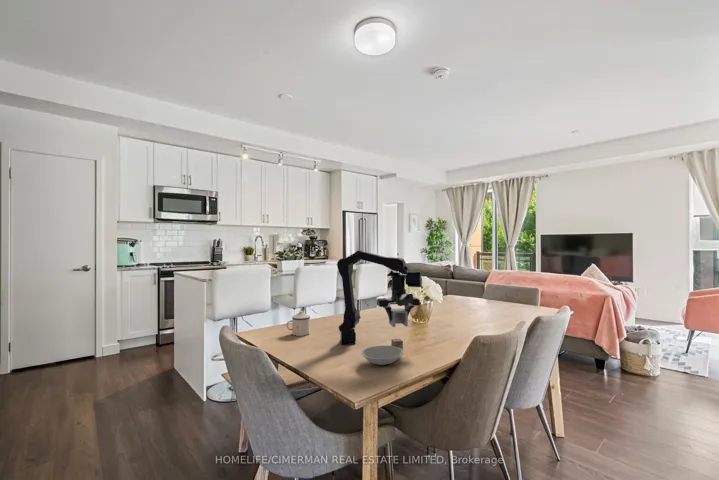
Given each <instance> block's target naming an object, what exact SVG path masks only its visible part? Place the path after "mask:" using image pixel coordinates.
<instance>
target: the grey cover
mask: <svg viewBox="0 0 719 480" xmlns="http://www.w3.org/2000/svg"><path fill="white" fill-rule="evenodd" d="M391 317H392V320H391V322H390V320H389V319H388V324H389V325H390V326H391V327H393V328H395V327H396V324H401V325H403V326H404V327H409V324H408V323H409V319H408V318H409V315H408V311H406V310H405V308H391Z"/></svg>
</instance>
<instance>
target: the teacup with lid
mask: <svg viewBox="0 0 719 480" xmlns="http://www.w3.org/2000/svg"><path fill="white" fill-rule="evenodd" d="M310 322H311V316H310V315H309V314H306V313H305V312H304V311H303V310H299V311H298V313H296V314H293V315H292V317H291V320H289V321H286V326H285V327H286V329H287V330H289V331H292V336H295V335H296V337H305V336H304V335H306V336H308V335H310V334H311V333H310V332H311V331H310V329H311V328H310V325H311V324H310ZM289 323H292V327H291V328H289Z"/></svg>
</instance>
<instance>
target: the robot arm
mask: <svg viewBox="0 0 719 480" xmlns="http://www.w3.org/2000/svg"><path fill="white" fill-rule="evenodd" d="M359 261H366V262H369V263H374V264H377V265H380V266H384V267H386V268H388V269H389V270H390V271H389V273H387V277H391V288H390V290H391V297H390V299H387V298H386V297H385V298H381V297H380V298H377V299H376V303H375V304H376V306H377V307H378V308H379V307H380V308H383V309H384V310H385V312H386V314H387V318H388V321H389V320H390V322H391V320H392V317H391V309H392V306H391V305H397V306H399V307H402V306H404V309H405V310H406V311H408V316H409V314H410V313H411V310H412V309H414V308H415V307H417V306H418V307H419V306H421V301H420V298H418V297H416V296H415V297H414V294H413V293H407V291H406V287H405V286H408V287H409V288H422V286H423V278H422V271H410V269H409V268H408V267H407V263H406V261H405V259H404V258H402V257H394V256H393V257H392V256H391V257H389V256H383V255H379V254H376V253H375V254H374V253H371V252H367V251H364V250H356V251H355V252H354V253H352V254H350V255H348V256H347V257H344V258H340V259H338V261H337V263H336V266H337V270H338V274H339V275H340V276H341V281H342V288H343V289H342V292H343V300H344V312H343V322H342V323H341V324H340V325H339V326H338V330H339V332H340V333H339V334H340V339H339V342H340V345H341V346H342V345H343V346H345V345H356V342H357V341H356V340H357V335H356V334H357V333H356V330H355V328H356V326H357V325H358V324H359V323H360V319H362V317H361V315H360V314H361V313H360V312H361V311H360V309H357V308H356V305H355V296H354V295H355V294H354V288H353V287H354V286H353V278H352V276H353V272H354V266H355V264H357V263H358V262H359ZM408 287H407V288H408Z"/></svg>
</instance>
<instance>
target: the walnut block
mask: <svg viewBox="0 0 719 480" xmlns="http://www.w3.org/2000/svg"><path fill="white" fill-rule="evenodd" d="M390 341H391V343H390V344H391V345H390V346H395V347H399V348H401V349H403V350H404V340H402V339H401V338H392V339H391V340H390Z"/></svg>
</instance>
